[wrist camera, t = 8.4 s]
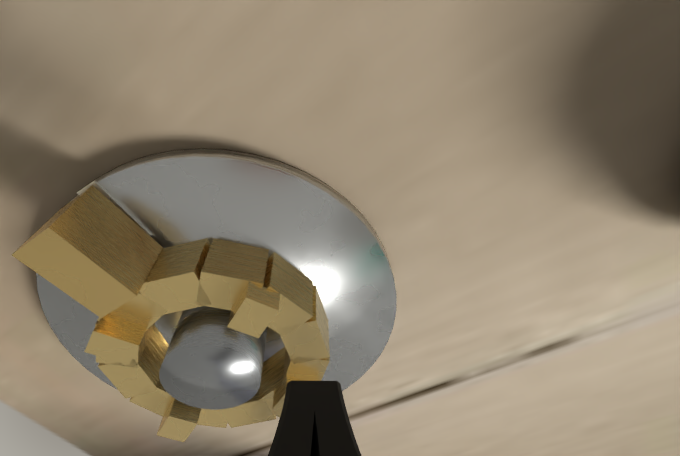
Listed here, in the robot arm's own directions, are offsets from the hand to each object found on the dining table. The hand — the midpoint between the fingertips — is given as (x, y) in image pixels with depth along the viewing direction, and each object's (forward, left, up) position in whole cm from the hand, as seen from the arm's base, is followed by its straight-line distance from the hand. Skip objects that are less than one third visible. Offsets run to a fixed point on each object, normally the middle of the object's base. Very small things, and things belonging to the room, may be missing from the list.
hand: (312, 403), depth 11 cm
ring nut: (-2, +6, -8) cm, 11 cm away
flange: (-4, +6, -10) cm, 12 cm away
